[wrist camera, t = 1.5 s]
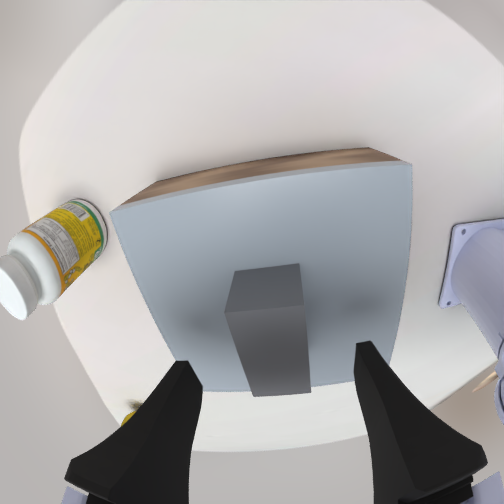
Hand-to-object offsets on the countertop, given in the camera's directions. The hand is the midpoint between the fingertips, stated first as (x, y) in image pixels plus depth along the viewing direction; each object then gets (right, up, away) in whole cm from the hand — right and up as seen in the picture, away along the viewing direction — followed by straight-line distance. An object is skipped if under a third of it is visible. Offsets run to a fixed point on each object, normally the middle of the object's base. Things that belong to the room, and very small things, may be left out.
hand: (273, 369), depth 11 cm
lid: (0, +3, +5) cm, 6 cm away
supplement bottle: (-15, +7, +9) cm, 19 cm away
